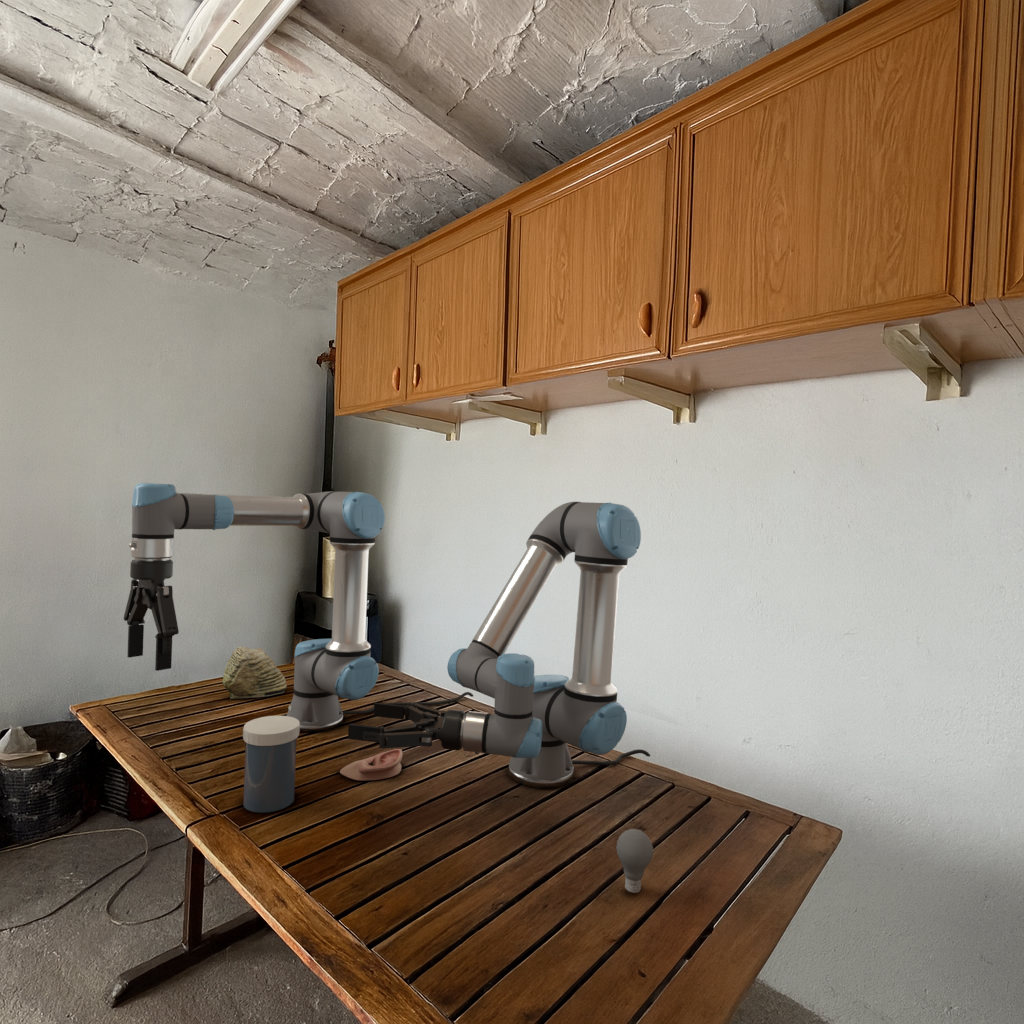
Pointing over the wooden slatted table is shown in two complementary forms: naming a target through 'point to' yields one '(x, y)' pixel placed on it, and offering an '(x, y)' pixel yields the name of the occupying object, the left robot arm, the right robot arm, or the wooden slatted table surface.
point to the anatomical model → (375, 766)
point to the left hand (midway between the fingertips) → (148, 662)
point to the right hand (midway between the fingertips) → (362, 719)
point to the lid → (271, 730)
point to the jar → (269, 776)
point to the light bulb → (634, 857)
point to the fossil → (252, 674)
